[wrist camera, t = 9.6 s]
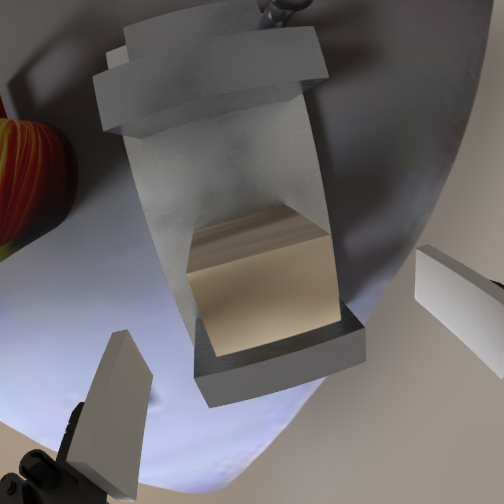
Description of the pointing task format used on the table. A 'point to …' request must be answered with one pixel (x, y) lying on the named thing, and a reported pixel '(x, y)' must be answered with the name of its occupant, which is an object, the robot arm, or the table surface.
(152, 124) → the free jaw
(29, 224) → the mug
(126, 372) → the robot arm
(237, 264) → the block
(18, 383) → the table surface
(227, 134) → the vise bed
